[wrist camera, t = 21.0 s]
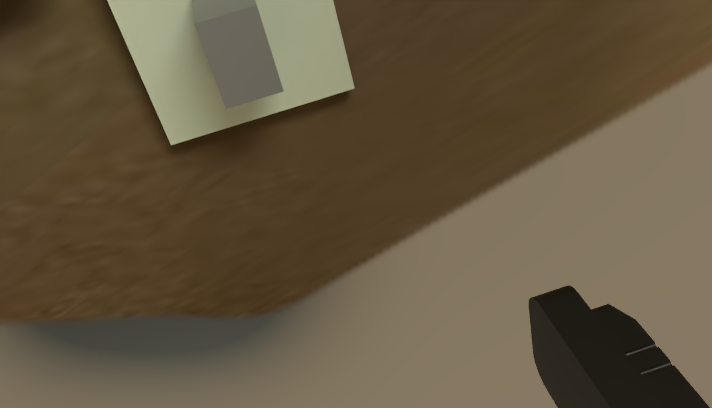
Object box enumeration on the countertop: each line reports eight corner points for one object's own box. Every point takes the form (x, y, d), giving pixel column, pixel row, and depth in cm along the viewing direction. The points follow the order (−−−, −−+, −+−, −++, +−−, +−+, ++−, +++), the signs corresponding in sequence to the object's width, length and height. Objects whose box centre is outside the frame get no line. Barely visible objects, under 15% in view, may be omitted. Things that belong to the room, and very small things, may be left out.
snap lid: (299, -118, 28) (324, -96, 24) (347, 76, 33) (375, 124, 29) (89, -57, 28) (73, -24, 23) (170, 131, 33) (171, 189, 28)
